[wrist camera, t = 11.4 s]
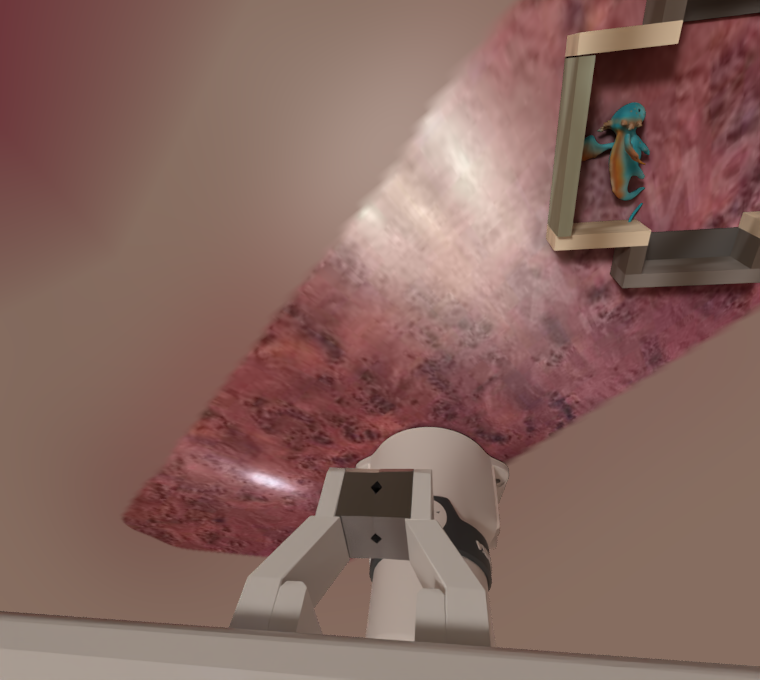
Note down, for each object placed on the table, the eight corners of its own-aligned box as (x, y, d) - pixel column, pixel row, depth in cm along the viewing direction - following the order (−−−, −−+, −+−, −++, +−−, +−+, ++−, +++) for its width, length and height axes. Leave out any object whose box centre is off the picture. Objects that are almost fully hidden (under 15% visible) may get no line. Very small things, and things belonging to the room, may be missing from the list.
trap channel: (917, -81, 25) (981, -101, 22) (776, 266, 36) (806, 283, 33) (574, -32, 28) (591, -44, 25) (541, 277, 39) (550, 293, 36)
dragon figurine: (720, 151, 32) (675, 86, 27) (666, 243, 33) (615, 194, 29) (638, 151, 37) (589, 96, 33) (595, 229, 38) (542, 187, 34)
